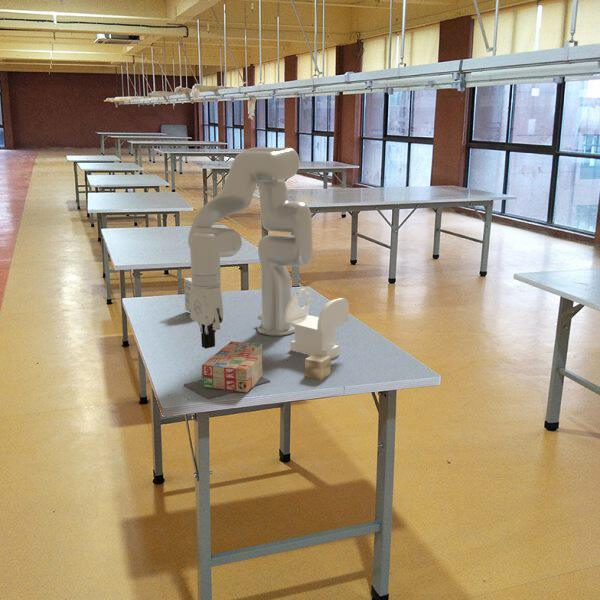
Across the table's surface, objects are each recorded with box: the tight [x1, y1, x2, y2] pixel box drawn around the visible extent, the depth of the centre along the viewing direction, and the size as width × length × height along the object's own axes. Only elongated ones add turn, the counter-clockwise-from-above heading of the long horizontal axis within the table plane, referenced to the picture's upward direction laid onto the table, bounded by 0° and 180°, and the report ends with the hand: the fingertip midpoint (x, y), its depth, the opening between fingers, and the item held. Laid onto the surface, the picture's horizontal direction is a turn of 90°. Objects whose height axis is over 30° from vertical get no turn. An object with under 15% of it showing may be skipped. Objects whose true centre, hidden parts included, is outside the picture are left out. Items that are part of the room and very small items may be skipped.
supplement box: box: [183, 277, 192, 312], centre depth 244 cm, size 7×7×13 cm
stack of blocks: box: [201, 341, 263, 393], centre depth 183 cm, size 21×6×12 cm
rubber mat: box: [183, 376, 271, 400], centre depth 179 cm, size 12×19×1 cm, turn 129°
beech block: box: [304, 354, 331, 380], centre depth 184 cm, size 5×5×5 cm
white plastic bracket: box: [284, 288, 350, 360], centre depth 201 cm, size 14×13×18 cm
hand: (208, 346), depth 183 cm, fingers closed
